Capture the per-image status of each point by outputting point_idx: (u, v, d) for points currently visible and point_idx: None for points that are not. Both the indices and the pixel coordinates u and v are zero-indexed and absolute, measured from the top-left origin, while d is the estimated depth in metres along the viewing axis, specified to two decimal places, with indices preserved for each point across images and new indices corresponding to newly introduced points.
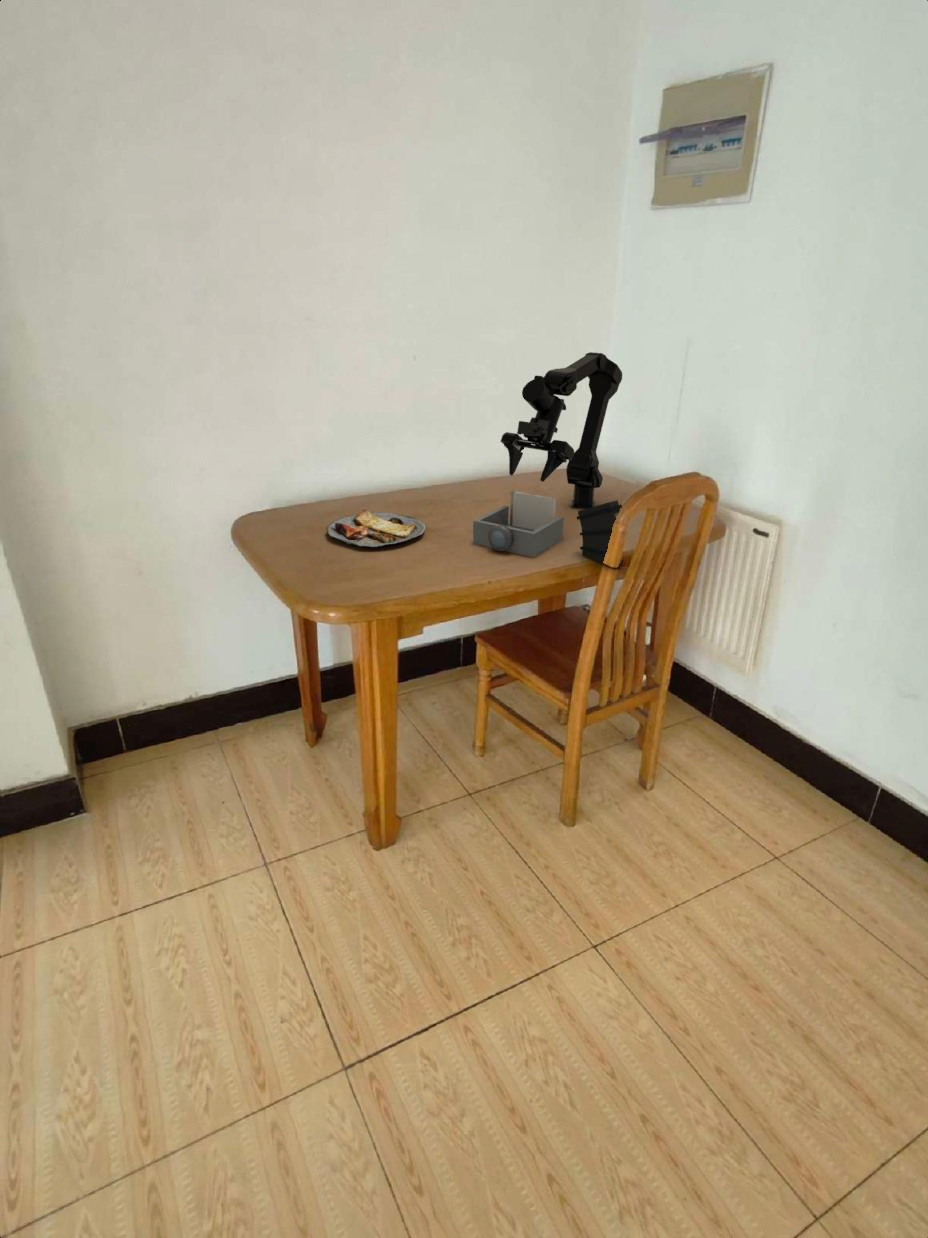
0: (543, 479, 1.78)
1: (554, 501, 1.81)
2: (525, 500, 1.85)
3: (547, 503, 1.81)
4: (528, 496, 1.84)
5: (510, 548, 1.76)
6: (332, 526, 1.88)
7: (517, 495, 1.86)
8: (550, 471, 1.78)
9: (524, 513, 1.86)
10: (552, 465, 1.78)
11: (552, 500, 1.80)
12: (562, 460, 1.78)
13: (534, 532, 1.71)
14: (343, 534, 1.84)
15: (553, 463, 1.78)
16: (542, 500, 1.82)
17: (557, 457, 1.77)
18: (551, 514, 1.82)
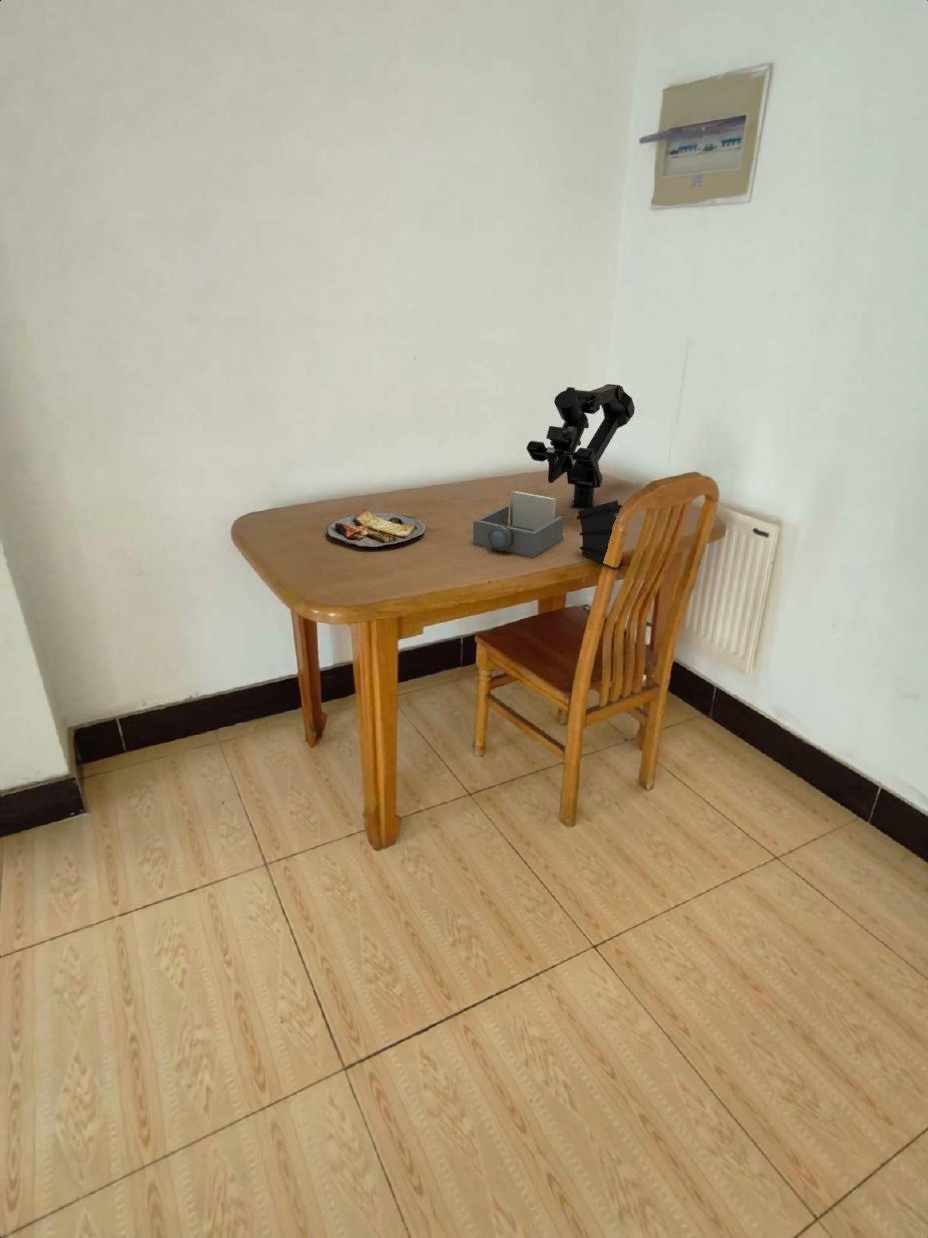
0: (552, 480, 1.88)
1: (554, 501, 1.81)
2: (525, 500, 1.85)
3: (547, 503, 1.81)
4: (528, 496, 1.84)
5: (510, 548, 1.76)
6: (332, 526, 1.88)
7: (517, 495, 1.86)
8: (559, 474, 1.89)
9: (524, 513, 1.86)
10: (561, 469, 1.89)
11: (552, 500, 1.80)
12: (570, 466, 1.89)
13: (534, 532, 1.71)
14: (343, 534, 1.84)
15: (562, 467, 1.89)
16: (542, 500, 1.82)
17: (566, 461, 1.88)
18: (551, 514, 1.82)
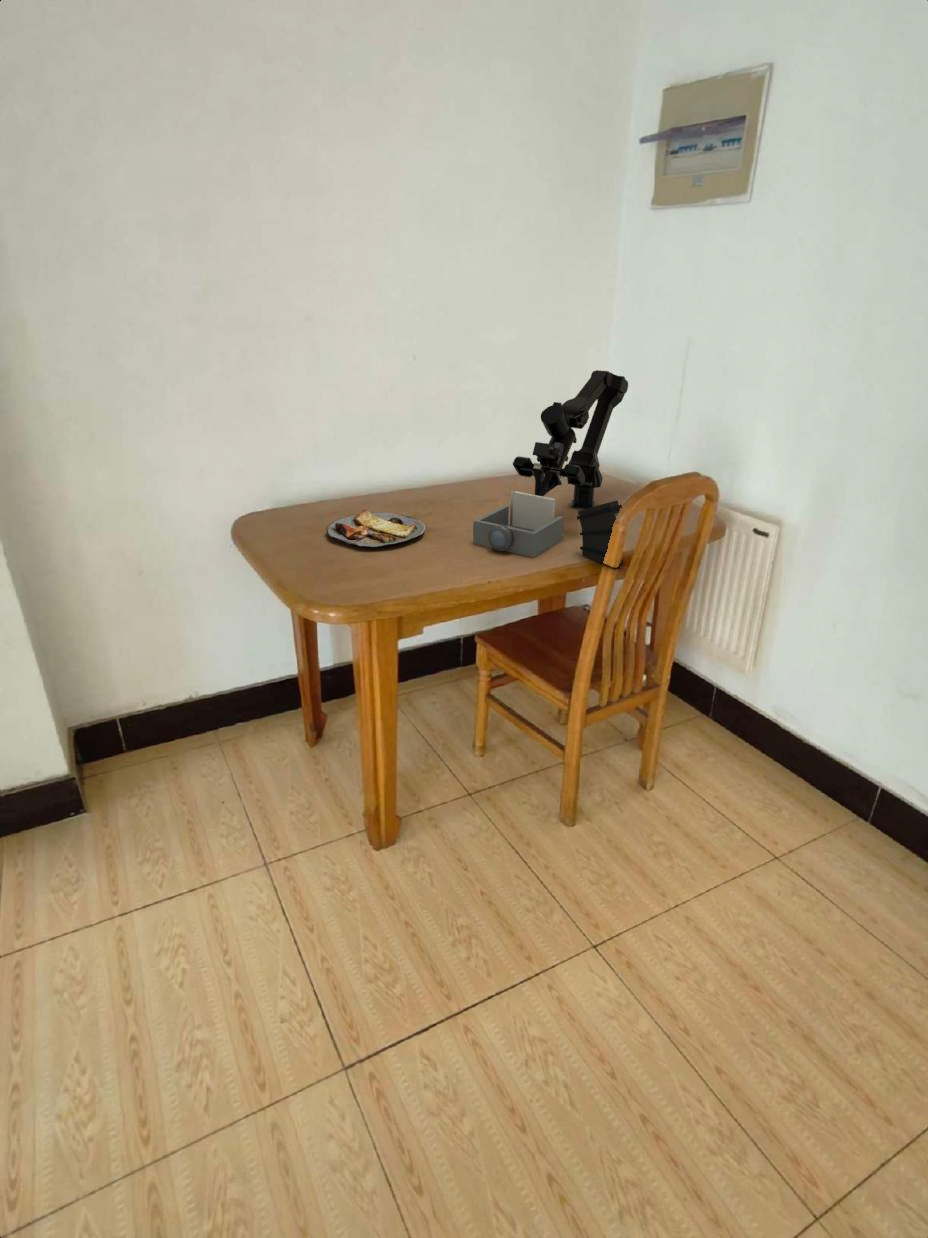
0: None
1: (553, 501, 1.80)
2: (525, 500, 1.85)
3: (547, 503, 1.81)
4: (528, 496, 1.84)
5: (510, 548, 1.76)
6: (332, 526, 1.88)
7: (517, 495, 1.86)
8: (545, 491, 1.85)
9: (524, 513, 1.86)
10: (548, 485, 1.85)
11: (551, 500, 1.80)
12: (557, 482, 1.85)
13: (534, 532, 1.71)
14: (343, 534, 1.84)
15: (549, 484, 1.85)
16: (541, 501, 1.82)
17: (553, 478, 1.84)
18: (550, 514, 1.82)
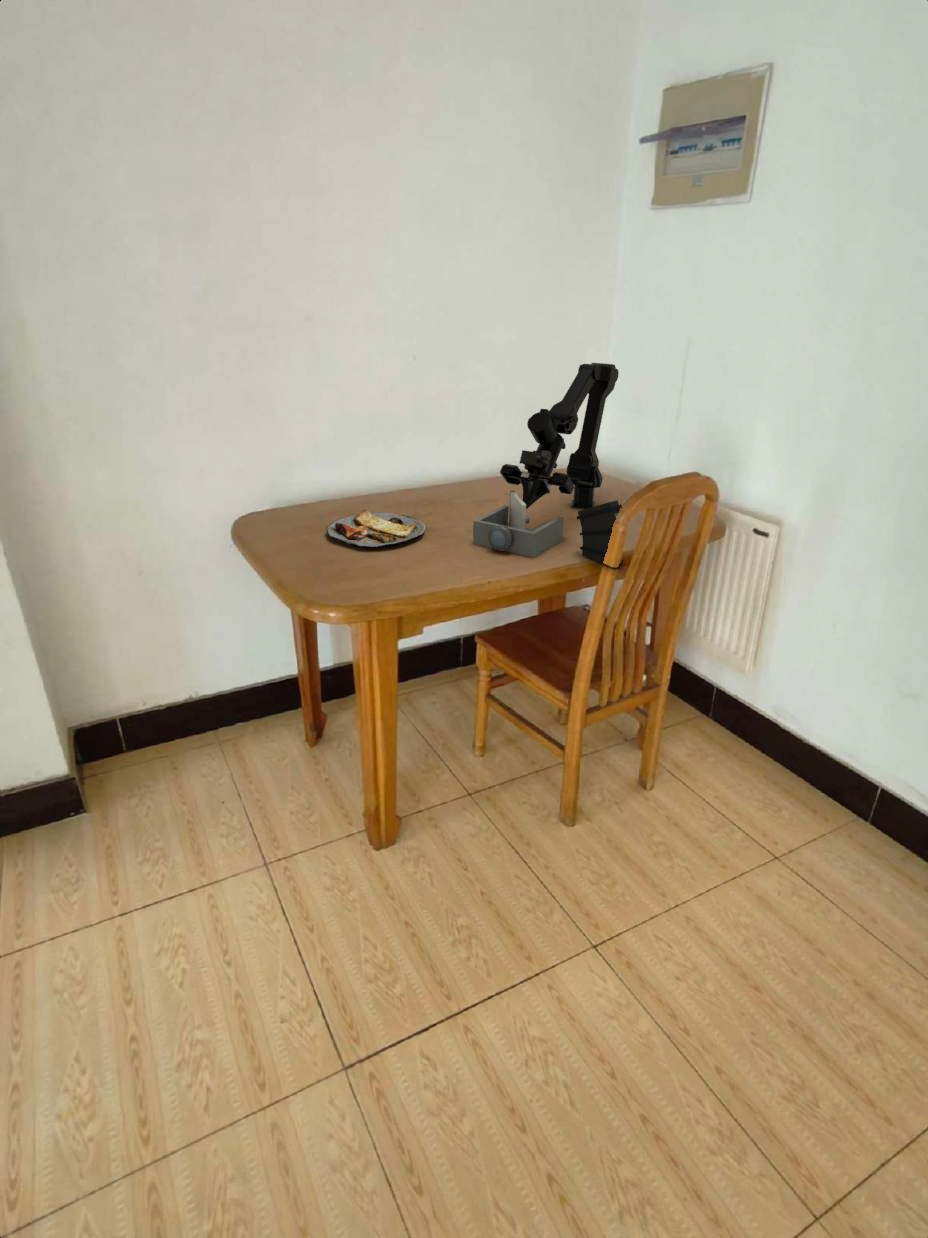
0: (526, 507, 1.80)
1: (523, 507, 1.76)
2: (514, 501, 1.84)
3: (520, 507, 1.78)
4: (514, 498, 1.83)
5: (510, 548, 1.76)
6: (332, 526, 1.88)
7: (511, 495, 1.86)
8: (533, 500, 1.80)
9: (513, 514, 1.86)
10: (536, 494, 1.80)
11: (521, 505, 1.77)
12: (546, 490, 1.81)
13: (534, 532, 1.71)
14: (343, 534, 1.84)
15: (537, 492, 1.81)
16: (518, 504, 1.79)
17: (541, 486, 1.80)
18: (521, 519, 1.78)
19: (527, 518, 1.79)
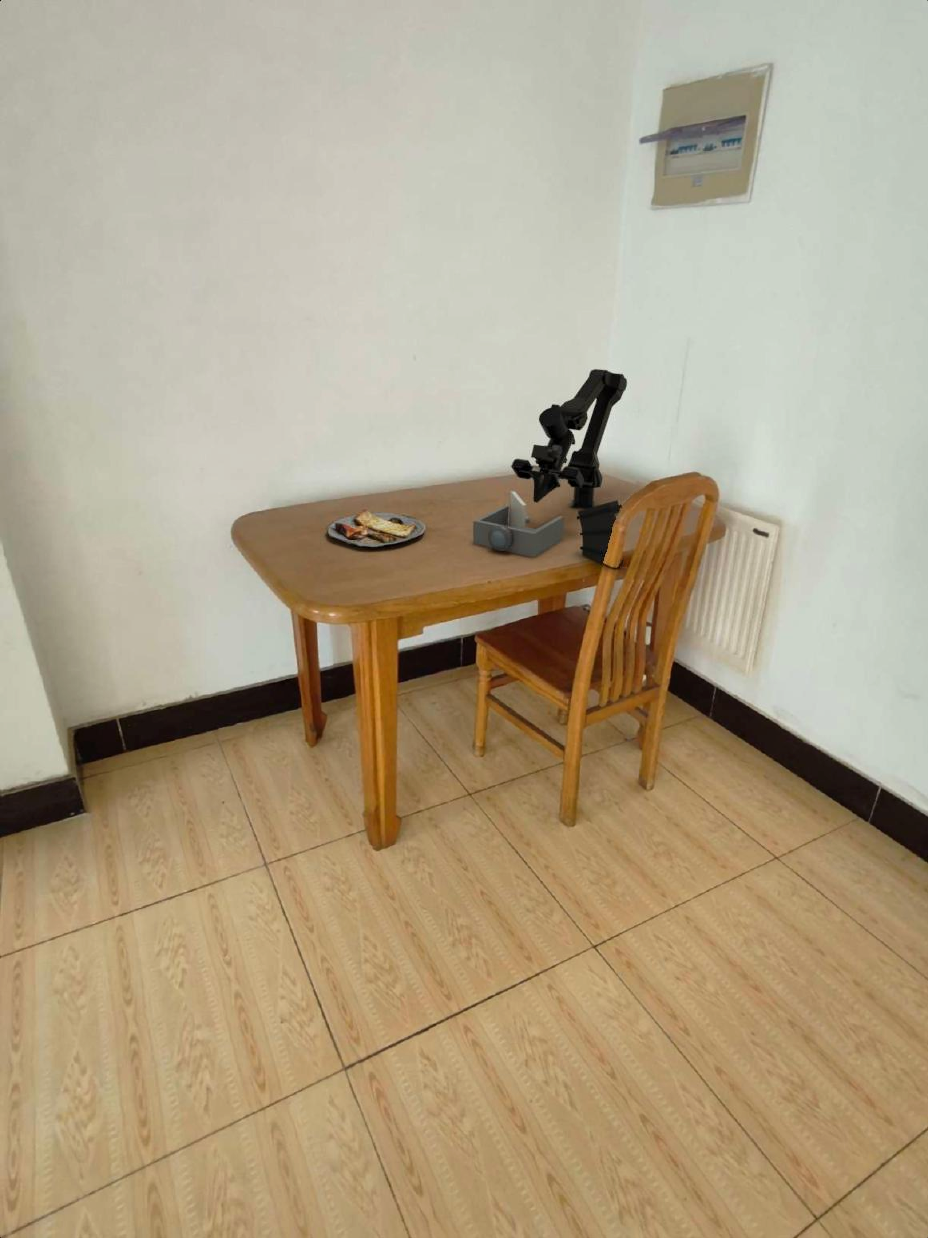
0: (537, 500, 1.84)
1: (523, 507, 1.76)
2: (514, 501, 1.84)
3: (520, 507, 1.78)
4: (514, 498, 1.83)
5: (510, 548, 1.76)
6: (332, 526, 1.88)
7: (511, 495, 1.86)
8: (544, 493, 1.84)
9: (513, 514, 1.86)
10: (547, 488, 1.84)
11: (521, 505, 1.77)
12: (556, 484, 1.85)
13: (534, 532, 1.71)
14: (343, 534, 1.84)
15: (548, 486, 1.85)
16: (518, 504, 1.79)
17: (552, 480, 1.84)
18: (521, 519, 1.78)
19: (527, 518, 1.79)
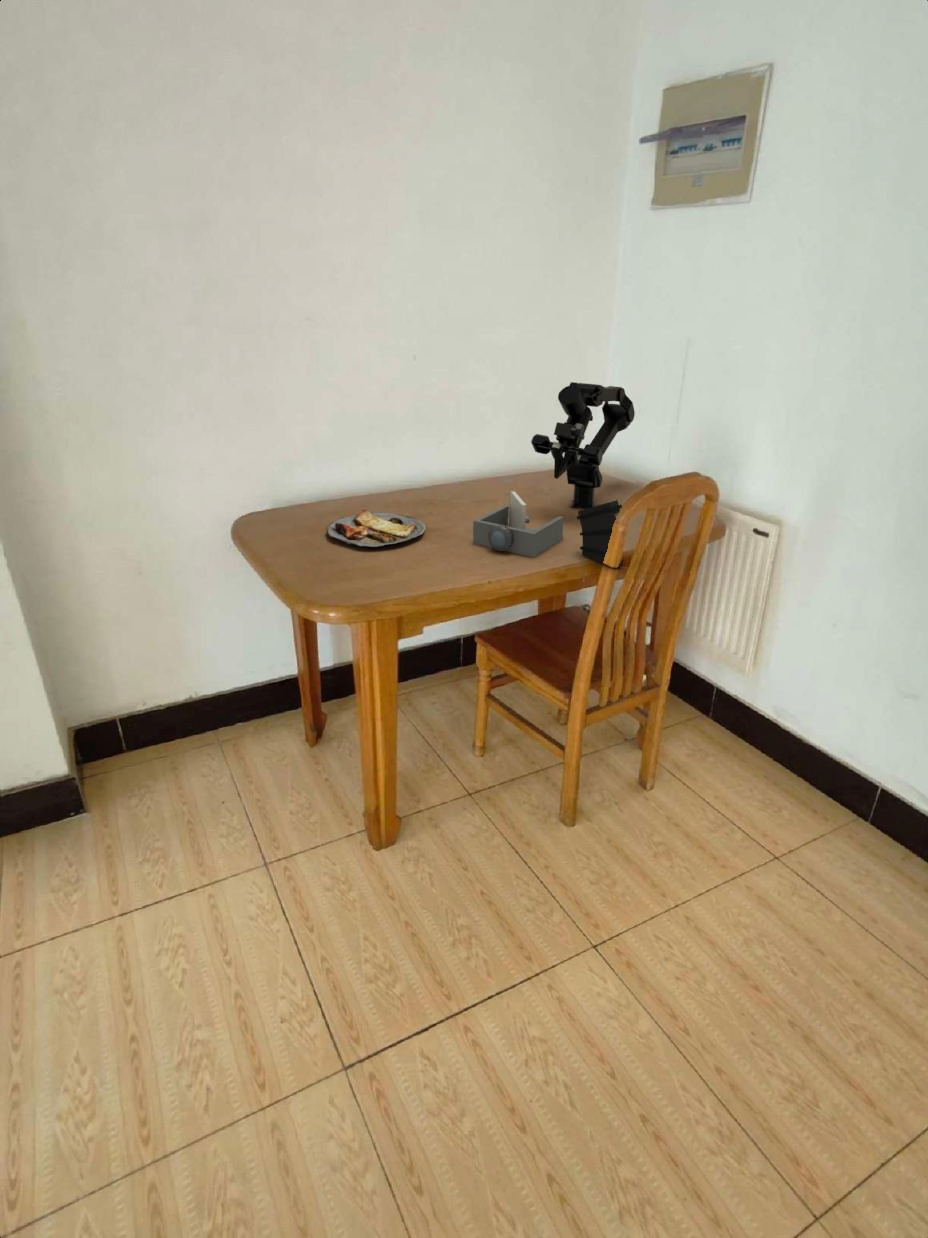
0: (558, 476, 1.90)
1: (523, 507, 1.76)
2: (514, 501, 1.84)
3: (520, 507, 1.78)
4: (514, 498, 1.83)
5: (510, 548, 1.76)
6: (332, 526, 1.88)
7: (511, 495, 1.86)
8: (564, 470, 1.91)
9: (513, 514, 1.86)
10: (566, 464, 1.91)
11: (521, 505, 1.77)
12: (575, 461, 1.91)
13: (534, 532, 1.71)
14: (343, 534, 1.84)
15: (567, 463, 1.91)
16: (518, 504, 1.79)
17: (572, 457, 1.90)
18: (521, 519, 1.78)
19: (527, 518, 1.79)
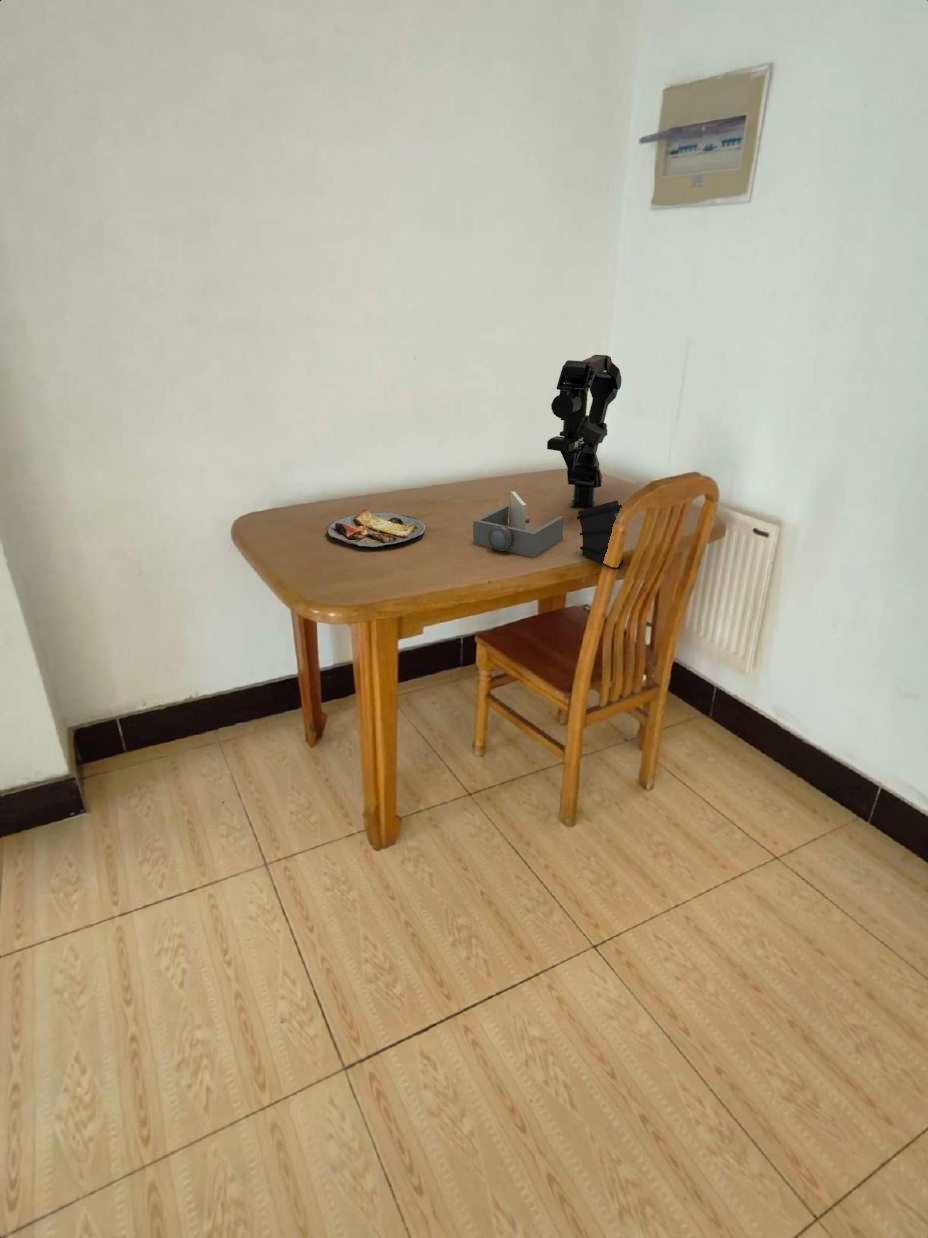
0: None
1: (523, 507, 1.76)
2: (514, 501, 1.84)
3: (520, 507, 1.78)
4: (514, 498, 1.83)
5: (510, 548, 1.76)
6: (332, 526, 1.88)
7: (511, 495, 1.86)
8: None
9: (513, 514, 1.86)
10: None
11: (521, 505, 1.77)
12: None
13: (534, 532, 1.71)
14: (343, 534, 1.84)
15: None
16: (518, 504, 1.79)
17: None
18: (521, 519, 1.78)
19: (527, 518, 1.79)
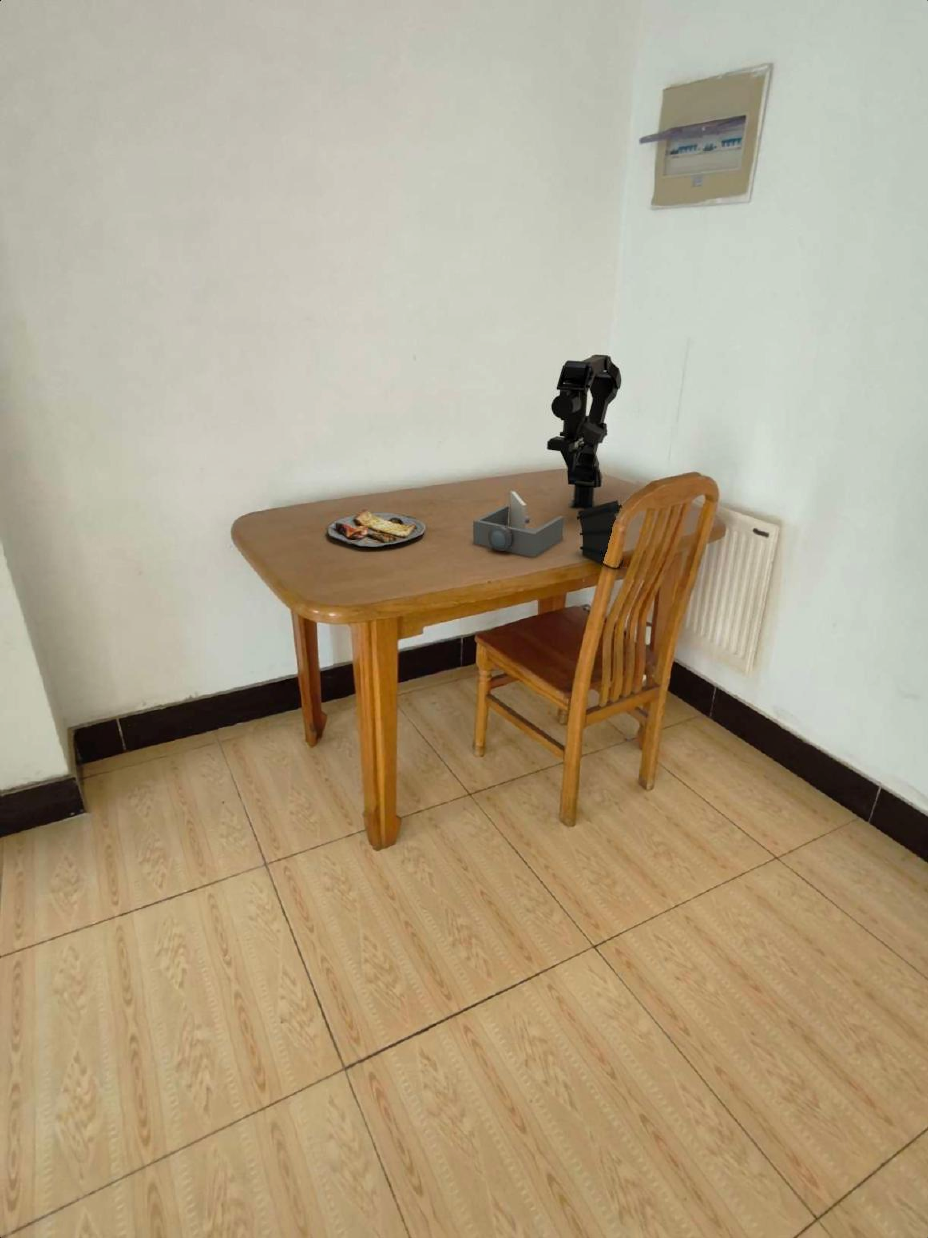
0: None
1: (523, 507, 1.76)
2: (514, 501, 1.84)
3: (520, 507, 1.78)
4: (514, 498, 1.83)
5: (510, 548, 1.76)
6: (332, 526, 1.88)
7: (511, 495, 1.86)
8: None
9: (513, 514, 1.86)
10: None
11: (521, 505, 1.77)
12: None
13: (534, 532, 1.71)
14: (343, 534, 1.84)
15: None
16: (518, 504, 1.79)
17: None
18: (521, 519, 1.78)
19: (527, 518, 1.79)
